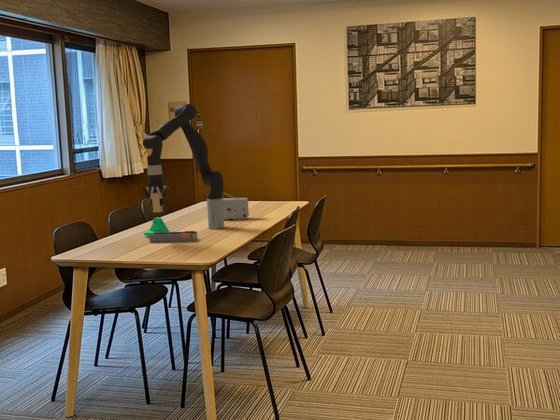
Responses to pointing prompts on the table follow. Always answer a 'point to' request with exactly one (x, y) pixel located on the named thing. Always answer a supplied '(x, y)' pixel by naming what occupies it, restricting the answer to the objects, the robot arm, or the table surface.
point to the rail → (173, 236)
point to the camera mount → (157, 227)
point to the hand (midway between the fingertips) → (157, 205)
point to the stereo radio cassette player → (235, 208)
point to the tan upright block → (156, 202)
